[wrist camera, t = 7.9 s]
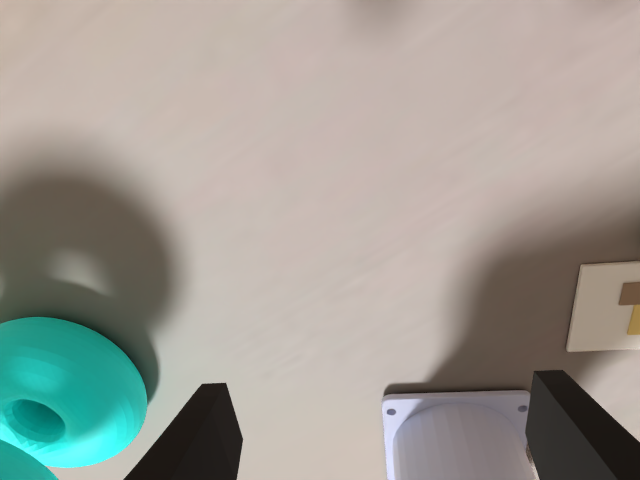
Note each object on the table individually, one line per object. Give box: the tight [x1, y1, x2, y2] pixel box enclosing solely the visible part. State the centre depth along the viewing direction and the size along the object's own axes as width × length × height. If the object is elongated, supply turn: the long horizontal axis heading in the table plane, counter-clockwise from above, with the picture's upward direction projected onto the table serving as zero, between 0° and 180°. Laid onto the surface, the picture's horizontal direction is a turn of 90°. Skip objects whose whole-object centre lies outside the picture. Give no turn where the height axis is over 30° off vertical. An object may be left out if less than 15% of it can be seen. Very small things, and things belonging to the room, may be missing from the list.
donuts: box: [0, 317, 147, 480], centre depth 21 cm, size 10×10×10 cm
